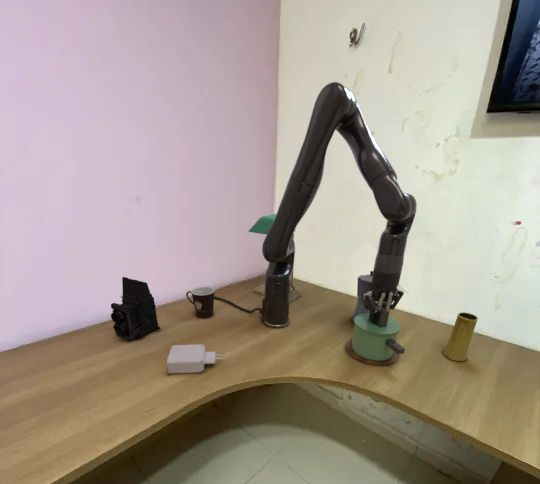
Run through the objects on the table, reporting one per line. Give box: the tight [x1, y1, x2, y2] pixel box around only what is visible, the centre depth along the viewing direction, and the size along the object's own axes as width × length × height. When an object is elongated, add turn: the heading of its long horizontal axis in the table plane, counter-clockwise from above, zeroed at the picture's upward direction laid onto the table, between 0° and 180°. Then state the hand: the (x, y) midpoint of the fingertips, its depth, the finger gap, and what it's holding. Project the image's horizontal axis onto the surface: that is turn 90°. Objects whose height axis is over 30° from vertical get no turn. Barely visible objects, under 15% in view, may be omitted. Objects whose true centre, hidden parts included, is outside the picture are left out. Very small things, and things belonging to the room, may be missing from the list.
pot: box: [351, 306, 406, 361], centre depth 94 cm, size 19×14×15 cm
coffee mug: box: [185, 286, 215, 319], centre depth 120 cm, size 12×9×10 cm
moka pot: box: [351, 270, 373, 323], centre depth 114 cm, size 10×15×20 cm, turn 174°
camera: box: [110, 276, 161, 341], centre depth 102 cm, size 10×14×20 cm
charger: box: [166, 343, 223, 375], centre depth 91 cm, size 5×9×15 cm
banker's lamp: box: [247, 213, 301, 303], centre depth 135 cm, size 16×21×35 cm
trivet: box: [346, 338, 399, 367], centre depth 100 cm, size 16×16×1 cm
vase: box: [443, 311, 479, 362], centre depth 95 cm, size 6×6×14 cm
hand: (377, 321), depth 95 cm, fingers closed on pot, 2 cm apart
